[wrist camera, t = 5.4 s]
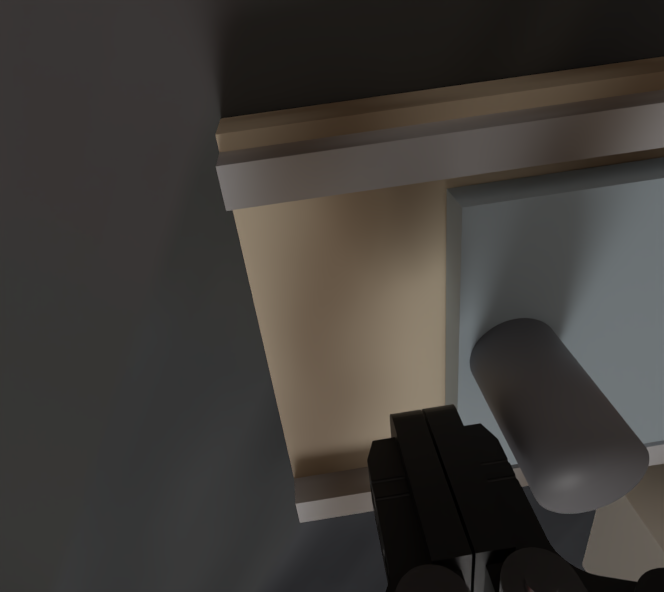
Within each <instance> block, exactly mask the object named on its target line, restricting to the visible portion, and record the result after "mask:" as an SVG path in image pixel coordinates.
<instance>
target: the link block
mask: <svg viewBox="0 0 664 592" xmlns="http://www.w3.org/2000/svg"><path fill="white" fill-rule="evenodd" d="M582 565H583V567H584V569H585V571H586V572H588V573H591V574H595V575H599V576H605V577H611V578H617V579H623V580H630V581H636V582H638V580H639V578H640V577H641V576H642V575H643V574H644V573H645V572H647V571H649V570H651V569H656V568H664V464H658V465H652V466H648V469H647V471H646V473H645V475H644V477H643V478H642V479H641V481H640V482H639V483H638V484H637V485H636V486H635V487H634V488H633V489H632V490H631V491H630V492H628V493H627V494H626V495H624V496H623V497H621V498H620V499H618V500H616V501H615V502H613V503H611V504H609V505H606V506H604V507H601V508H599V509H597V510H596V513H595V517H594V521H593V525H592V529H591V533H590V537H589V540H588V544H587V548H586V552H585V556H584V560H583V563H582Z"/></svg>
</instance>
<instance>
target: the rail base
mask: <svg viewBox="0 0 664 592" xmlns="http://www.w3.org/2000/svg"><path fill="white" fill-rule="evenodd" d="M215 135H216V139H217V144H218V148H219V152H220V153H219V156H218V160H217V164H216V170H217V174H218V178H219V182H220V187H221V191H222V195H223V199H224V203H225V208H226V211H229V210H233V213H234V218H235V222H236V226H237V231H238V235H239V239H240V244H241V248H242V253H243V257H244V261H245V266H246V270H247V274H248V279H249V283H250V287H251V292H252V296H253V301H254V305H255V309H256V314H257V318H258V322H259V327H260V331H261V335H262V340H263V344H264V348H265V353H266V357H267V362H268V366H269V370H270V375H271V379H272V383H273V388H274V392H275V396H276V401H277V405H278V410H279V414H280V418H281V423H282V427H283V431H284V436H285V440H286V444H287V449H288V453H289V457H290V462H291V466H292V471H293V475H294V482H295V502H296V508H297V512H298V516H299V520H300V523H302V522H308V521H314V520H320V519H326V518H332V517H339V516H345V515H351V514H357V513H363V512H369V511H374V510H373V504H372V498H371V489H370V481H369V472H368V464H367V459H368V455H369V452H370V448H371V444H372V441H374V440H380V439H387V438H391V429H390V414H395V413H401V412H407V411H413V410H421V411H422V409H425V408H431V407H438V406H444V405H445V378H446V215H447V189H448V188H455V187H462V186H469V185H476V184H483V183H489V182H496V181H503V180H510V179H517V178H524V177H531V176H538V175H544V174H551V173H558V172H565V171H572V170H579V169H586V168H592V167H599V166H606V165H613V164H620V163H627V162H634V161H641V160H647V159H654V158H661V157H664V56H663V57H656V58H649V59H642V60H635V61H628V62H620V63H613V64H606V65H599V66H592V67H585V68H578V69H570V70H563V71H556V72H549V73H542V74H535V75H528V76H520V77H513V78H506V79H499V80H492V81H485V82H478V83H471V84H463V85H456V86H449V87H442V88H435V89H428V90H421V91H413V92H406V93H399V94H392V95H385V96H378V97H371V98H363V99H356V100H349V101H342V102H335V103H328V104H321V105H313V106H306V107H299V108H292V109H285V110H278V111H271V112H264V113H256V114H249V115H242V116H235V117H228V118H221V119H220V122H219V125H218V128H217V131H216V134H215ZM644 445H645V447H646V448H647V450H648V452H649V465H648V466H652V465H658V464H664V440H663V441H656V442H650V443H644ZM511 466H512V468H513V471H514V473H515V475H516V479H518V481H519V483H520V485H521V487H523V486H529V485H528V483H527V481H526V479H525V477H524V475H523V473H522V471H521V469H520V467H519V465H518V464H514V465H511Z"/></svg>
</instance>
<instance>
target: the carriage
mask: <svg viewBox="0 0 664 592" xmlns="http://www.w3.org/2000/svg"><path fill="white" fill-rule="evenodd" d="M450 404H453V405H454V406H455V407H456V409H457V411H458V413H459V416H460V418H461V420H462V423H463V425H464V426H466V425H473V424H479V423H481V424H482V425H483V426H484V427H485V428H486V429H488V430H489V431H490V432H491V433H492V434H493V435H494V436H495V437H496V438H498V440H499V442H500V444H501V446H502V448H503V450H504V452H505V454H506V456H507V458H508V462H510V464H511V465H514V464H518V465H519V467H520V469H521V471H522V473H523V475H524V477H525V479H526V481H527V483H528V485H529V487H530V489H531V491H532V493H533V495H534V497H535V499H536V500H537V502H538V503H539V504H540V505H541V506H542V507H544V508H546V509H548V510H550V511H553V512H557V513H564V514H575V513H583V512H588V511H592V510H596V509H599V508H601V507H604V506H606V505H609V504H611V503H613V502H615V501H616V500H618V499H620V498H621V497H623V496H624V495H626V494H627V493H628V492H630V491H631V490H632V489H633V488H634V487H635V486H636V485H637V484H638V483H639V482H640V481H641V479H642V478H643V477H644V475H645V473H646V471H647V469H648V465H649V452H648V450H647V448H646V447H645V445H644V443H650V442H656V441H663V440H664V157H661V158H654V159H647V160H641V161H634V162H627V163H620V164H613V165H606V166H599V167H592V168H586V169H579V170H572V171H565V172H558V173H551V174H544V175H538V176H531V177H524V178H517V179H510V180H503V181H496V182H489V183H483V184H476V185H469V186H462V187H455V188H448V189H447V215H446V378H445V405H450Z"/></svg>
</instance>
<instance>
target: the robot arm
mask: <svg viewBox="0 0 664 592" xmlns="http://www.w3.org/2000/svg"><path fill="white" fill-rule="evenodd" d="M390 429H391V438H387V439H380V440H374V441H372V444H371V448H370V452H369V455H368V459H367V464H368V472H369V481H370V489H371V498H372V504H373V510H374V515H375V520H376V524H377V530H378V535H379V540H380V545H381V551H382V556H383V561H384V566H385V571H386V576H387V581H388V587H387V589H386V592H664V568H656V569H651V570H649V571H647V572H645V573H644V574H643V575H642V576H641V577H640V578H639V580H638V582H636V581H630V580H623V579H617V578H611V577H605V576H599V575H595V574H591V573H588V572H585V571H582V570H580V569H578V568H576V567H574V566H573V565H571V564H570V563H568V562H567V561H566V560H564V559H563V558H562V557H561V556H560V555H559V554H558V553H557V552H556V551H555V550H554V549H553V547H552V546H551V545H550V543H549V541H548V539H547V537H546V535H545V533H544V531H543V529H542V527H541V525H540V523H539V521H538V519H537V517H536V515H535V513H534V511H533V509H532V507H531V505H530V503H529V501H528V499H527V497H526V495H525V493H524V491H523V489H522V487H521V485H520V483H519V481H518V479H516V475H515V473H514V471H513V468H512V466H511V464H510V462H508V458H507V456H506V454H505V452H504V450H503V448H502V446H501V444H500V442H499V440H498V438H496V437H495V436H494V435H493V434H492V433H491V432H490V431H489V430H488V429H486V428H485V427H484V426H483V425H482V424H481V423H479V424H473V425H466V426H464V425H463V423H462V420H461V418H460V416H459V413H458V411H457V409H456V407H455V406H454V405H453V404H450V405H444V406H438V407H431V408H425V409H422V411H421V410H413V411H407V412H401V413H395V414H390Z"/></svg>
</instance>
